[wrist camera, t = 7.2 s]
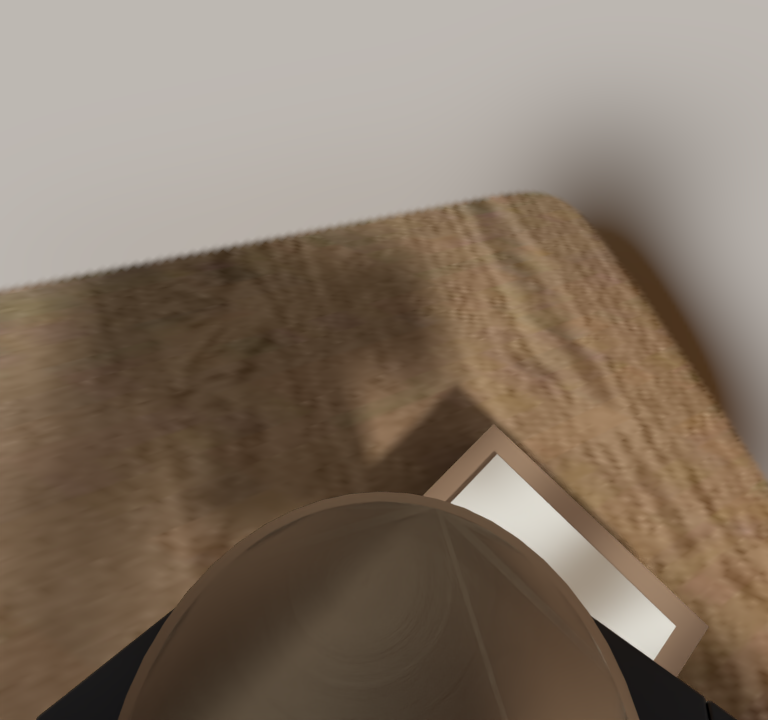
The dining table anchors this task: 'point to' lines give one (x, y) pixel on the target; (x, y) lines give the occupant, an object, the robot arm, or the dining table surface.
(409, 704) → the lidded cylindrical jar
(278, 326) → the dining table surface
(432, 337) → the dining table surface
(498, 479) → the base
